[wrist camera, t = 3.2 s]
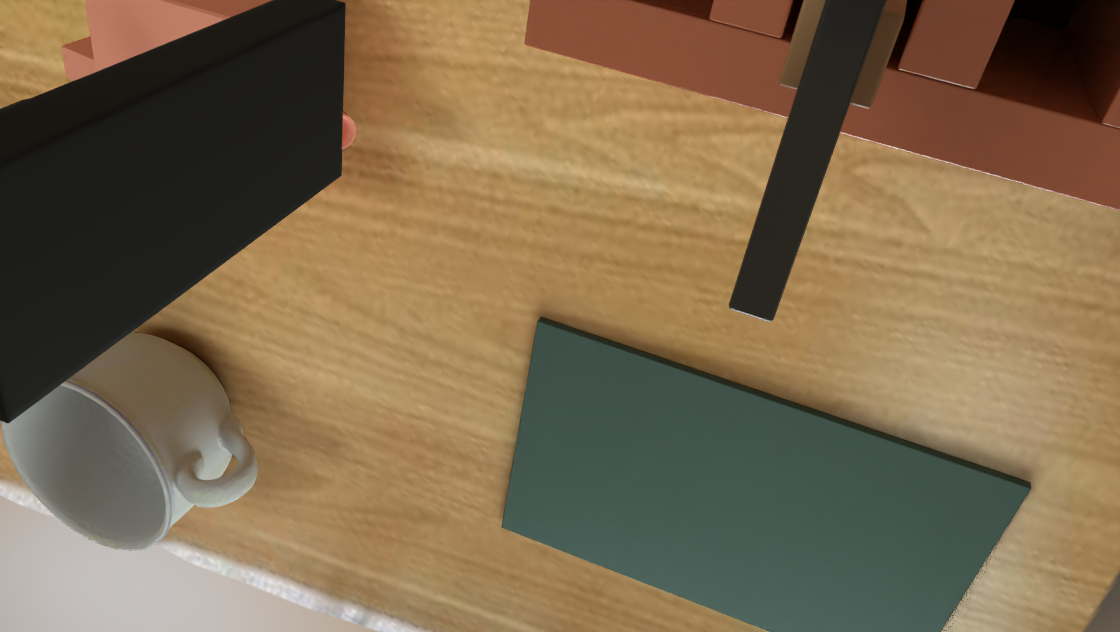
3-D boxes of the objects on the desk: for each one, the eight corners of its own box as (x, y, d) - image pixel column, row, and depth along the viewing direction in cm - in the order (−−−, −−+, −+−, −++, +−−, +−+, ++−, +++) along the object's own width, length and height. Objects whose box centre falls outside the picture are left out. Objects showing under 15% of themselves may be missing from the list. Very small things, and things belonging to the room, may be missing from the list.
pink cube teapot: (411, 173, 41) (309, 258, 35) (181, 103, 44) (44, 169, 37) (421, -4, 37) (306, 55, 30) (164, -71, 39) (5, -31, 33)
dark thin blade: (946, -162, 28) (942, -21, 12) (878, 31, 32) (806, 335, 16) (880, -176, 29) (796, -57, 13) (820, 16, 32) (693, 298, 16)
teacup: (113, 421, 58) (11, 507, 52) (92, 279, 52) (-27, 356, 46) (309, 501, 56) (227, 601, 49) (311, 362, 50) (217, 455, 43)
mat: (1030, 482, 39) (1031, 488, 38) (907, 678, 47) (906, 685, 46) (540, 316, 43) (537, 321, 43) (504, 522, 51) (501, 527, 51)
